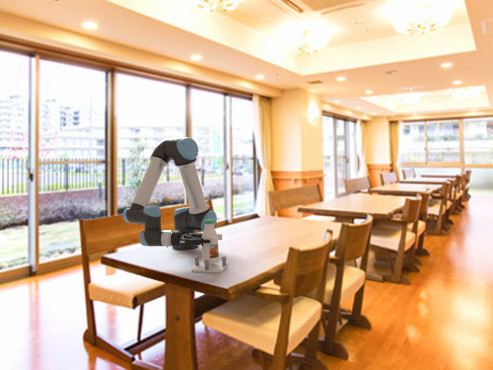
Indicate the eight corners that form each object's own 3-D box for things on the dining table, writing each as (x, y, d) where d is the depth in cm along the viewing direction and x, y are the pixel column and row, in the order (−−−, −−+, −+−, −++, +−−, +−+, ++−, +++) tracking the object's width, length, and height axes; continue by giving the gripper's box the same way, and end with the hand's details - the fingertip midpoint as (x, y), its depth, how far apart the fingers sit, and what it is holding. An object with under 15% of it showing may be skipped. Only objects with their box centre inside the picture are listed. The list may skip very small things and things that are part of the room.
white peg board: (199, 262, 172) (199, 252, 172) (229, 262, 170) (229, 252, 169) (190, 271, 157) (190, 261, 157) (222, 272, 155) (222, 261, 155)
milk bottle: (203, 265, 159) (202, 221, 157) (200, 260, 166) (199, 219, 165) (220, 263, 161) (219, 220, 159) (216, 259, 168) (215, 217, 167)
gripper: (180, 241, 176) (224, 241, 172) (164, 251, 156) (214, 252, 152) (179, 226, 175) (224, 226, 172) (164, 235, 155) (214, 235, 152)
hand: (219, 238), depth 162 cm, fingers closed on milk bottle, 8 cm apart
